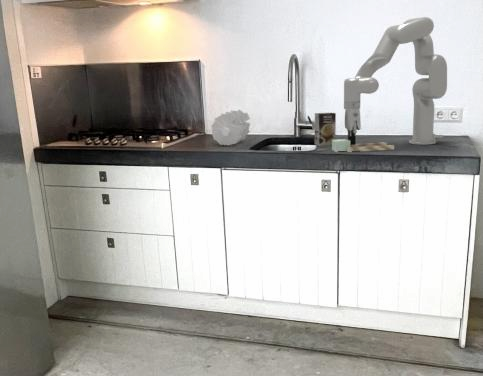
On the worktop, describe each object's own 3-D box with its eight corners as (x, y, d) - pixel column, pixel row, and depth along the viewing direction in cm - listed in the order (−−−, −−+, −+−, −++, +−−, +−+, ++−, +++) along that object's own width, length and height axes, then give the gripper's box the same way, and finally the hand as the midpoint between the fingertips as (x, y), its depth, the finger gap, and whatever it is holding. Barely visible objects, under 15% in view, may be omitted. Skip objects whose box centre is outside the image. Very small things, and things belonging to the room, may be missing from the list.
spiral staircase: (218, 154, 269) (231, 144, 292) (247, 140, 263) (257, 131, 286) (202, 123, 266) (216, 116, 290) (230, 108, 260) (242, 102, 284)
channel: (385, 146, 248) (386, 142, 248) (394, 149, 239) (394, 145, 238) (341, 148, 246) (342, 144, 246) (348, 152, 237) (348, 147, 236)
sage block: (346, 149, 245) (346, 138, 244) (350, 151, 239) (350, 140, 238) (332, 150, 244) (332, 139, 243) (335, 152, 238) (335, 141, 237)
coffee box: (319, 146, 257) (319, 114, 253) (314, 144, 263) (314, 113, 259) (336, 144, 259) (336, 112, 256) (330, 143, 266) (330, 112, 262)
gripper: (365, 106, 230) (364, 146, 234) (354, 104, 244) (354, 141, 249) (349, 107, 229) (348, 147, 233) (339, 104, 244) (339, 142, 248)
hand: (351, 144), depth 241 cm, fingers closed
